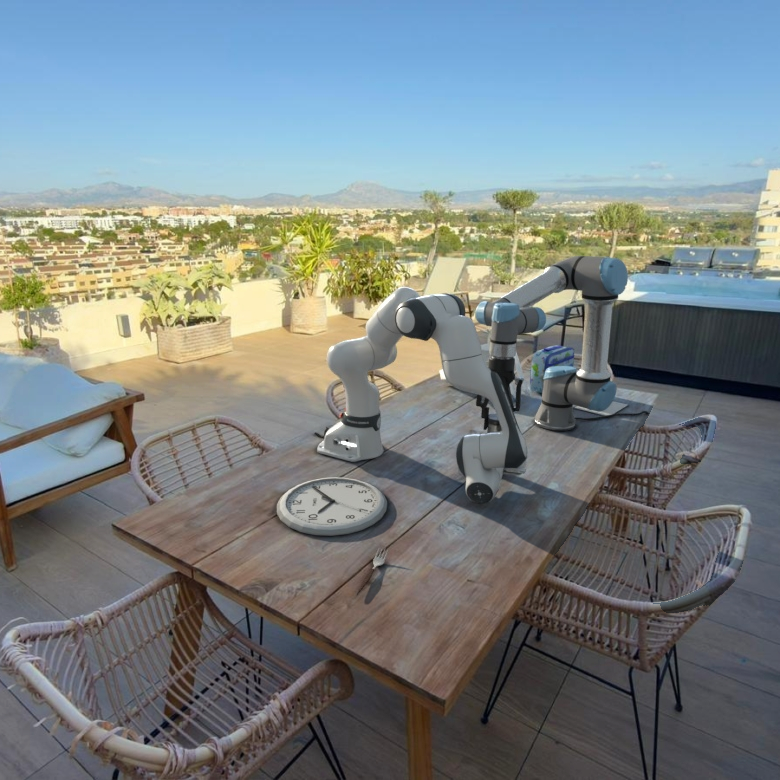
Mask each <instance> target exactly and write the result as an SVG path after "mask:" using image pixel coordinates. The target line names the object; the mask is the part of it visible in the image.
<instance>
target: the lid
mask: <svg viewBox="0 0 780 780" xmlns="http://www.w3.org/2000/svg"><path fill="white" fill-rule="evenodd" d="M487 422H488V423H489V424H492V425H500V422H499V420H498V417H497V414H496V413H489V415H488V418H487Z"/></svg>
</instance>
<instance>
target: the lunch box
mask: <svg viewBox="0 0 780 780" xmlns="http://www.w3.org/2000/svg"><path fill="white" fill-rule="evenodd" d="M574 363H575V348H573V347H571V346H570V347H568V346H563V345H551V346H548V347H544V348H543V349H539V350H536V351H535V352H534V354H533V356H532V358H531V363H530V374H529V391H532V392H536V393H540V394H542V391H543V382H544V379H543V378H544V374H545V371H546V369H547V368H550V367H554V366H572V367H574Z"/></svg>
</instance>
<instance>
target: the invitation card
mask: <svg viewBox="0 0 780 780" xmlns="http://www.w3.org/2000/svg"><path fill="white" fill-rule="evenodd" d="M628 406H629V404H627V403H623V402H618V401H614V400H613V401H612V403H611V404H610V406H609V407H608V408H607V409H605V410H604V411H601V412H598V411H594V410H589V409H586V408H583V407H580V406H577V405H575V406H574V407H573V409H575V410H581V411H584V412H587V413H593V414H596V415H600V416H607V415H612V414H617V413H619V411H621V410H623V409H624V408H626V407H628Z"/></svg>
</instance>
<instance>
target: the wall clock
mask: <svg viewBox="0 0 780 780" xmlns="http://www.w3.org/2000/svg"><path fill="white" fill-rule="evenodd" d="M387 509H388V500H387V498H386V496H385V494H384V493H383V492H382V491H381V490H380V489H379V488H377V487H376V486H374V485H372V484H371V483H369V482H365V481H362V480H359V479H355V478H349V477H338V476H337V477H335V476H333V477H332V476H331V477H322V478H317V479H312V480H307V481H305V482H302V483H299V484H297V485H295V486H293V487H292V488H290V489H288V490H287V491H286V492H285V493H284V494H283V495H281V496H280V498H279V499H278V502H277V503H276V515H277V517H278V518H279V520H280V521H281V522H282V523H283V524H285V525H286V526H287V527H288V528H290V529H293V530H295V531H297V532H299V533H303V534H308V535H312V536H327V537H328V536H329V537H331V536H332V537H333V536H342V535H350V534H352V533H356V532H361V531H363V530H366V529H368V528H369V527H372V526H373V525H375V524H376V523H378V522H379V521H380V520H381V519H382V518H383V517H384V516H385V514H386V512H387Z"/></svg>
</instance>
